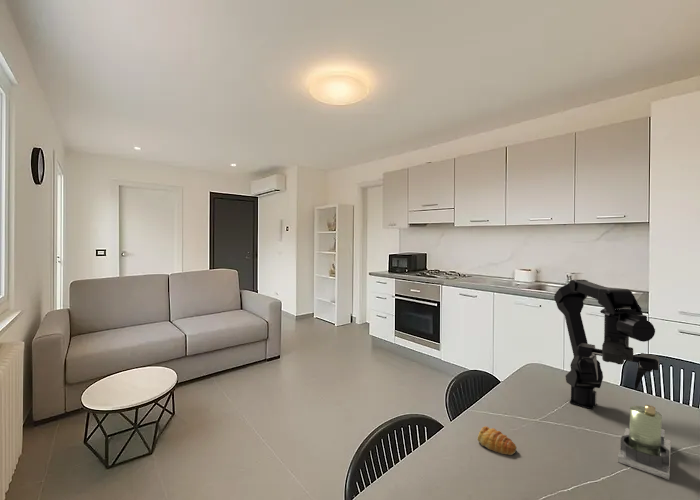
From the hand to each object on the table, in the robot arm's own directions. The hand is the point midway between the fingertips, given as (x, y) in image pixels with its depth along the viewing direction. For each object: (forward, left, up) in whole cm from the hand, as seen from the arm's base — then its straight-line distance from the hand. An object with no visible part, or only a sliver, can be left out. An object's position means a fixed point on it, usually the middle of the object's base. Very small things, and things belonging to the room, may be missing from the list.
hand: (615, 384), depth 101 cm
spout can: (+7, -14, -12) cm, 19 cm away
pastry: (-22, -33, -14) cm, 42 cm away
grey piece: (+7, -10, -13) cm, 18 cm away
